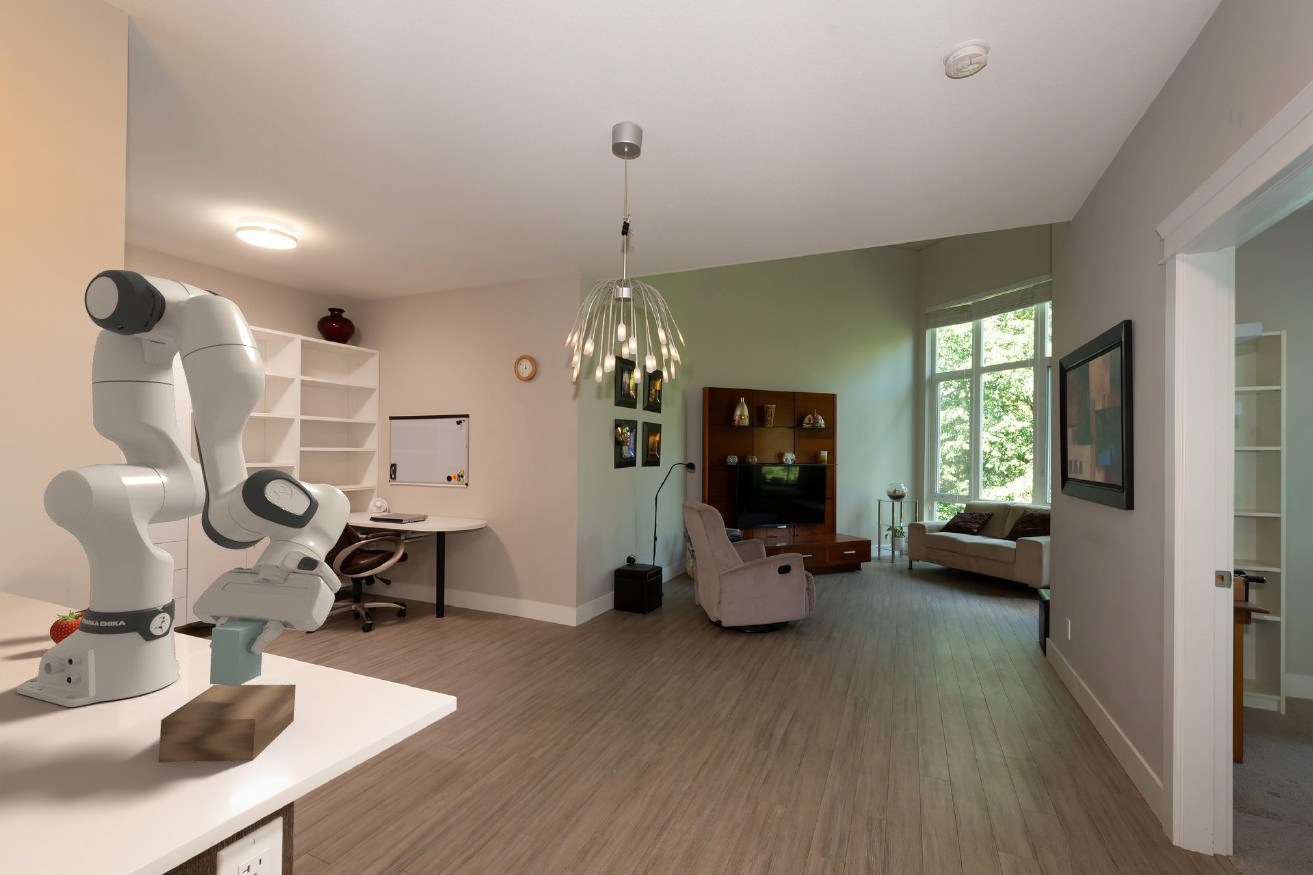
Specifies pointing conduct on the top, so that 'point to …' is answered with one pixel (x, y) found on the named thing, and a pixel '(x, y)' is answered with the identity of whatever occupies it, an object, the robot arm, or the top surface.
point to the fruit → (64, 626)
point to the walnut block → (227, 723)
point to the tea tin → (234, 653)
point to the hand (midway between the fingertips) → (233, 650)
